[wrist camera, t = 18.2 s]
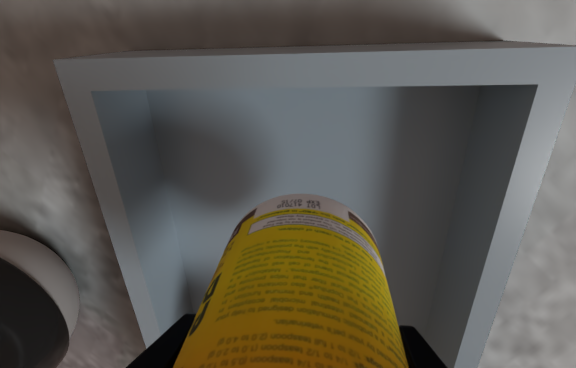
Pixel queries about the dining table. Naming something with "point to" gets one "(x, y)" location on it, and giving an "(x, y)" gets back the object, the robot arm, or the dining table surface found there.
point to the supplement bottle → (297, 294)
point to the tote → (325, 163)
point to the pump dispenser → (34, 304)
